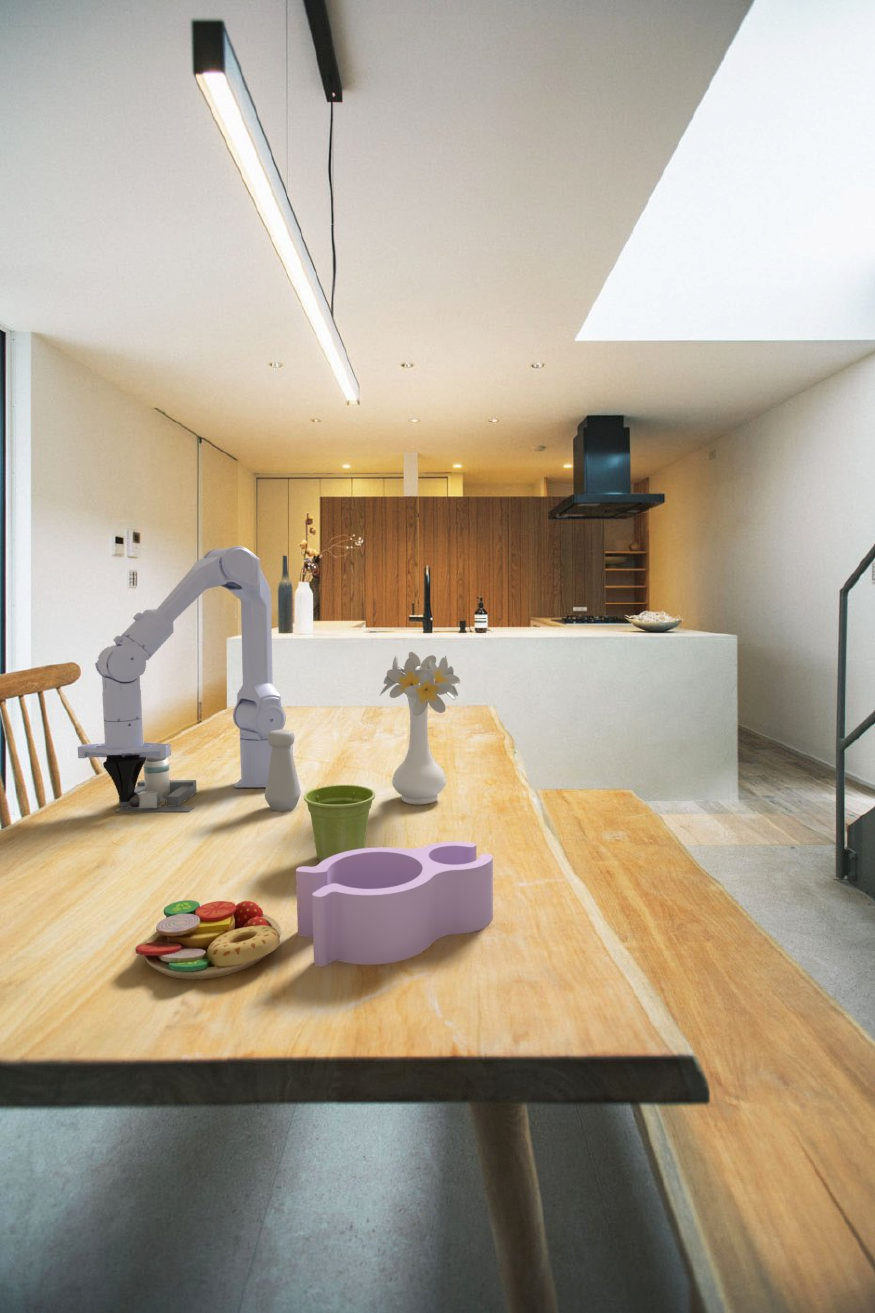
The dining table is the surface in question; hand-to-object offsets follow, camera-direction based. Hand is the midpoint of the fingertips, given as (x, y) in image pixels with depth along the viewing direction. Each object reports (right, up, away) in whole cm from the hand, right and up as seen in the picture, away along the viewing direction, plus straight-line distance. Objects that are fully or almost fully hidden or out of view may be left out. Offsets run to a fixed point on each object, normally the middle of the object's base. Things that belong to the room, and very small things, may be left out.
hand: (127, 800), depth 114 cm
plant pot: (+38, -3, -22) cm, 44 cm away
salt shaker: (+26, -2, 0) cm, 26 cm away
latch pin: (+4, -2, 0) cm, 4 cm away
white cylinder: (+3, -1, +6) cm, 7 cm away
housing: (+4, -1, +5) cm, 6 cm away
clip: (+47, -5, -42) cm, 63 cm away
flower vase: (+49, -1, +4) cm, 49 cm away
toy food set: (+29, -6, -46) cm, 54 cm away
